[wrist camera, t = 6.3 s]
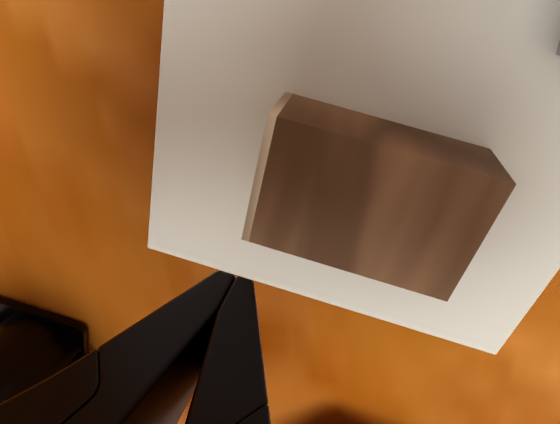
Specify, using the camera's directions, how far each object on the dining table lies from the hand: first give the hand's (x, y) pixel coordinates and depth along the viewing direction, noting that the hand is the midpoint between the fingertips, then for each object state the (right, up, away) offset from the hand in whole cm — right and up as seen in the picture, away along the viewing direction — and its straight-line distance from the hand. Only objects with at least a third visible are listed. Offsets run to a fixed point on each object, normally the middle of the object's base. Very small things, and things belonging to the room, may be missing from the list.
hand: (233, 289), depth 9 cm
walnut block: (0, +4, +6) cm, 7 cm away
